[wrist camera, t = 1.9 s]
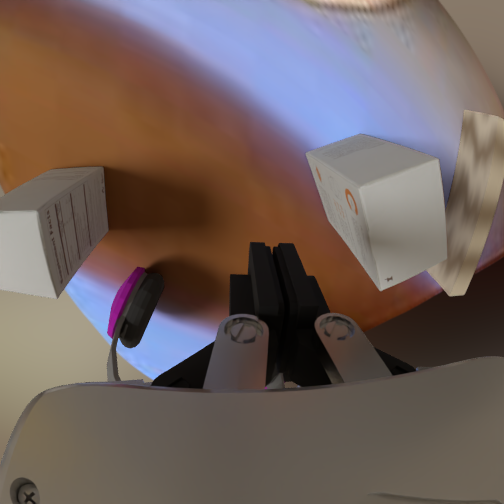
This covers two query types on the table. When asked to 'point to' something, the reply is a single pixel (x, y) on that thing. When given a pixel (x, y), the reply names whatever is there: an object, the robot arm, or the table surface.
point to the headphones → (142, 318)
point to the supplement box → (50, 229)
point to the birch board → (471, 199)
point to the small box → (383, 205)
